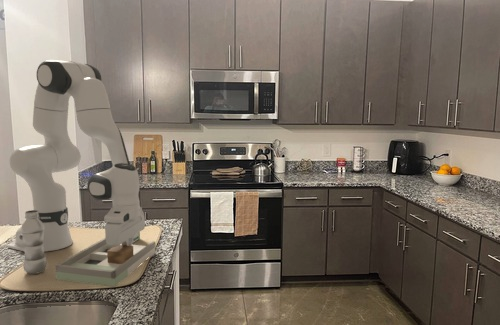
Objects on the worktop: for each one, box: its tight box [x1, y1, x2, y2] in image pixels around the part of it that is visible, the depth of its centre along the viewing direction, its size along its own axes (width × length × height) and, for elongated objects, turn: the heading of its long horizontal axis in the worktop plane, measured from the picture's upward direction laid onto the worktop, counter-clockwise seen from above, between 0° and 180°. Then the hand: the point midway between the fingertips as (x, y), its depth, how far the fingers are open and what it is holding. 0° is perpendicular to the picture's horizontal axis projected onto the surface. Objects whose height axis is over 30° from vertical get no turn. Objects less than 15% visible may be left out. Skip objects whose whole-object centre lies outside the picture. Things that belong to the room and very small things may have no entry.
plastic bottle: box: [20, 209, 48, 275], centre depth 119 cm, size 6×7×20 cm
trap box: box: [54, 236, 156, 287], centre depth 126 cm, size 20×27×4 cm
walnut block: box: [107, 245, 133, 264], centre depth 124 cm, size 6×6×4 cm
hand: (127, 249), depth 129 cm, fingers closed
